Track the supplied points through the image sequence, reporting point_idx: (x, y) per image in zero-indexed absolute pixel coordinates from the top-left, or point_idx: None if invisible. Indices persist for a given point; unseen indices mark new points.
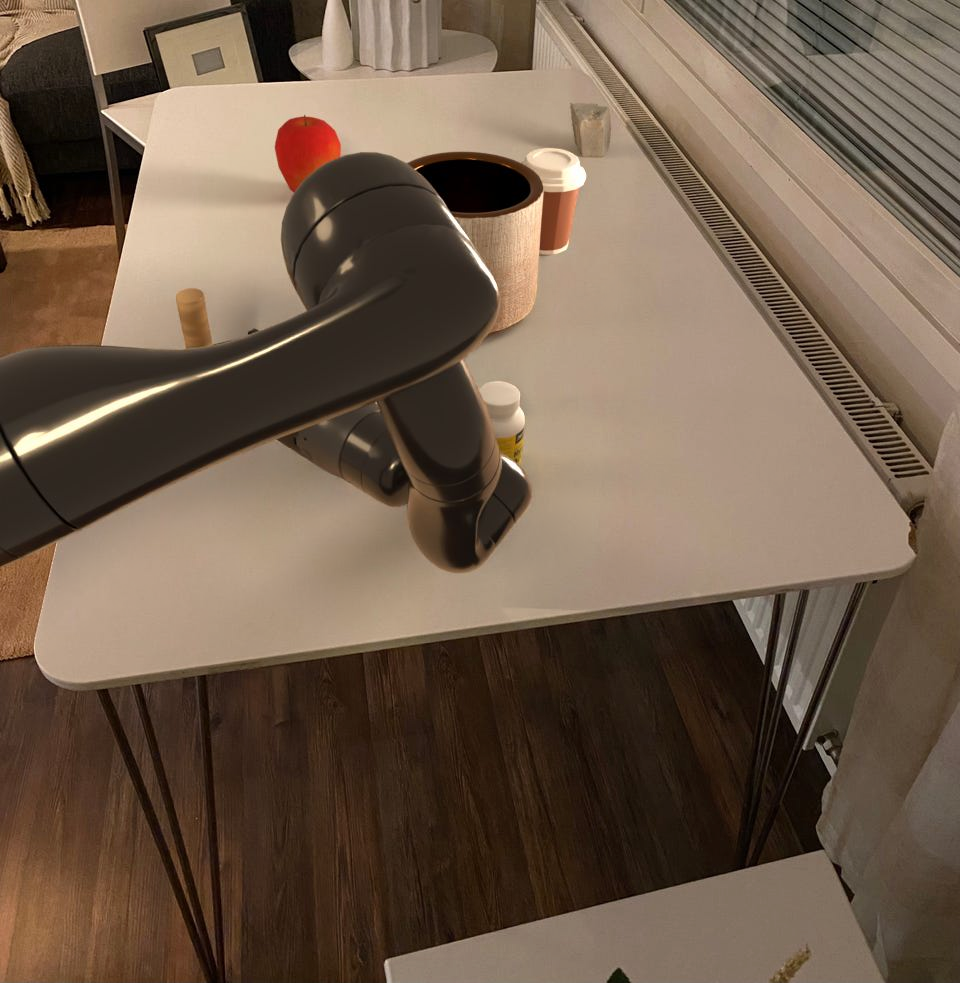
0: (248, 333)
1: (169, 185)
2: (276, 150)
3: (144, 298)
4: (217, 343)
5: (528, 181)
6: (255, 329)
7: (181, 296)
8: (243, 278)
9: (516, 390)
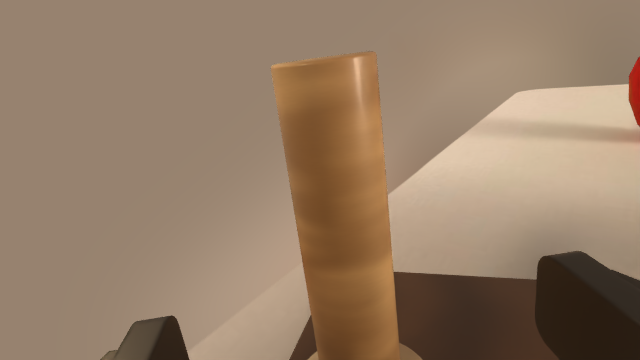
0: (541, 266)
1: (495, 126)
2: (632, 76)
3: (411, 198)
4: (470, 276)
5: None
6: (584, 256)
7: (294, 61)
8: (554, 199)
9: None
